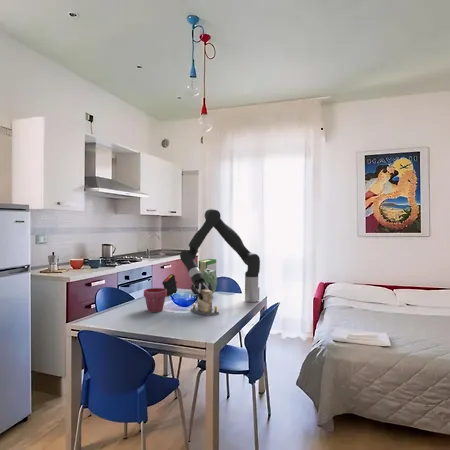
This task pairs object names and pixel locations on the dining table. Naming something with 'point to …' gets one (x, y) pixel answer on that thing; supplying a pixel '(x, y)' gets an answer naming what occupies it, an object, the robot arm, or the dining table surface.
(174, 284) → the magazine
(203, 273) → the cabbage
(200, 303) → the panel
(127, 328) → the dining table surface
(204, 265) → the hardback book
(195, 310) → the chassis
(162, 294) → the plant pot
